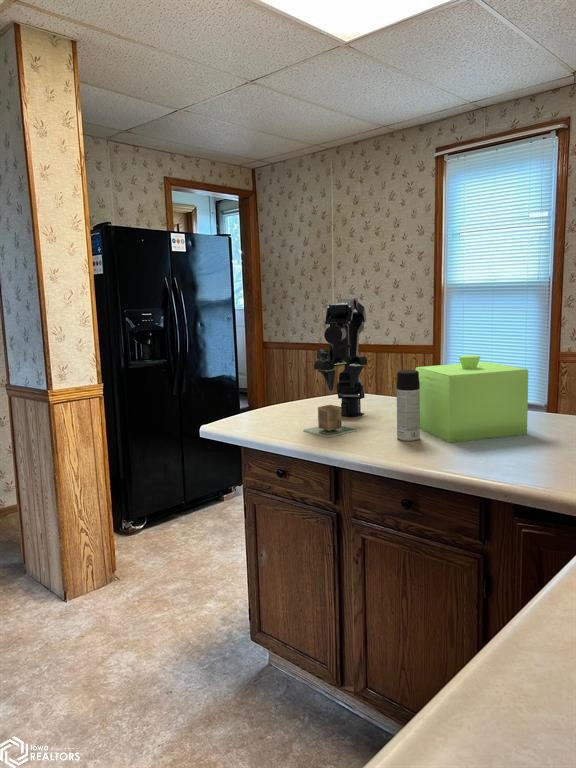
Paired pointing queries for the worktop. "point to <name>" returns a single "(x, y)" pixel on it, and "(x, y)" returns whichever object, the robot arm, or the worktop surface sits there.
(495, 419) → the canister
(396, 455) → the worktop surface
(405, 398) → the spray can
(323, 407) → the brown shipping carton
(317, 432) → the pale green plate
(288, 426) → the worktop surface
